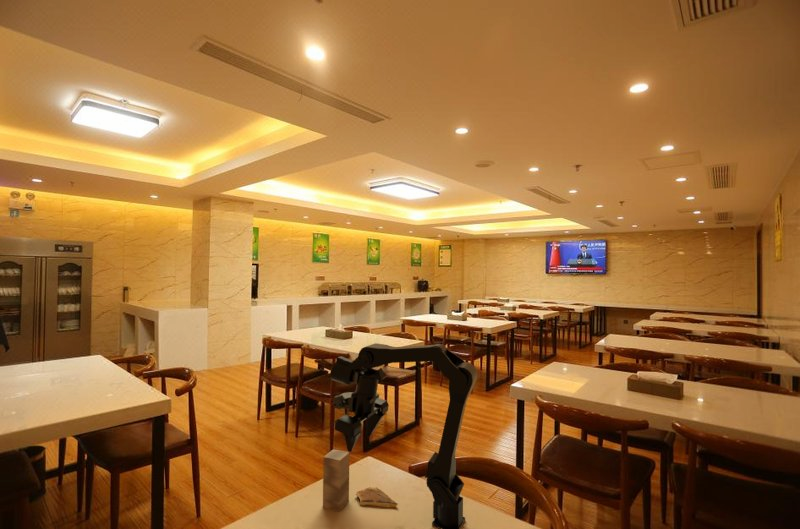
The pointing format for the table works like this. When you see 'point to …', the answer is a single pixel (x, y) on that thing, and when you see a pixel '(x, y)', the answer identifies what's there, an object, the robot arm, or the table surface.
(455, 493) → the robot arm
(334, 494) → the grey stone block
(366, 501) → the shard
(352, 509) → the table surface
